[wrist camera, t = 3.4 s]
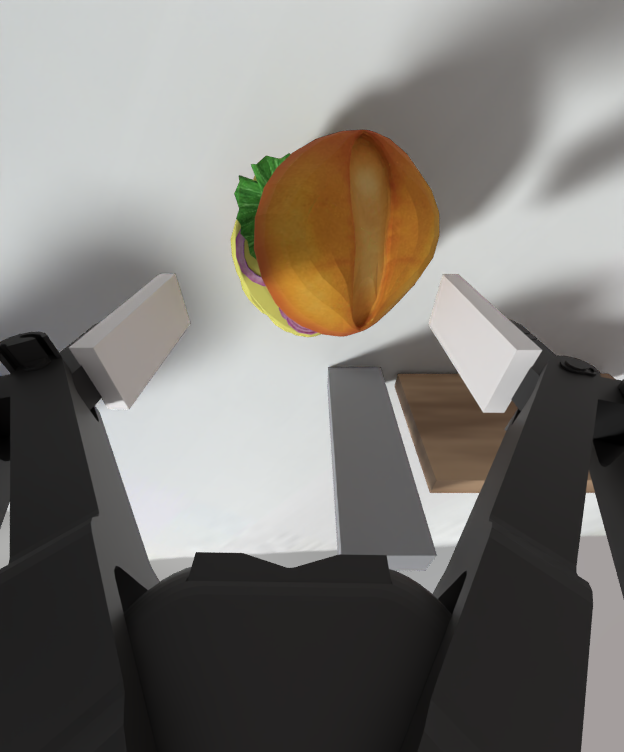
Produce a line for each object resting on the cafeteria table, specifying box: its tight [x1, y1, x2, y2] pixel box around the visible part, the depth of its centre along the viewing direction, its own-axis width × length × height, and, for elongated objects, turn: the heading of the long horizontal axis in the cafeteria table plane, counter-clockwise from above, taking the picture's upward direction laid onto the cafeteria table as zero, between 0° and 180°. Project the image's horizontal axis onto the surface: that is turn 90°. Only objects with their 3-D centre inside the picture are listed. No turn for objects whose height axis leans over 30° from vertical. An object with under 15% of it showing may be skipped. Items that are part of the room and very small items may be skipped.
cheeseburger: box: [231, 130, 439, 337], centre depth 16 cm, size 10×11×10 cm
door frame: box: [327, 367, 437, 571], centre depth 22 cm, size 3×32×16 cm, turn 90°
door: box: [395, 374, 616, 493], centre depth 23 cm, size 3×20×11 cm, turn 90°
